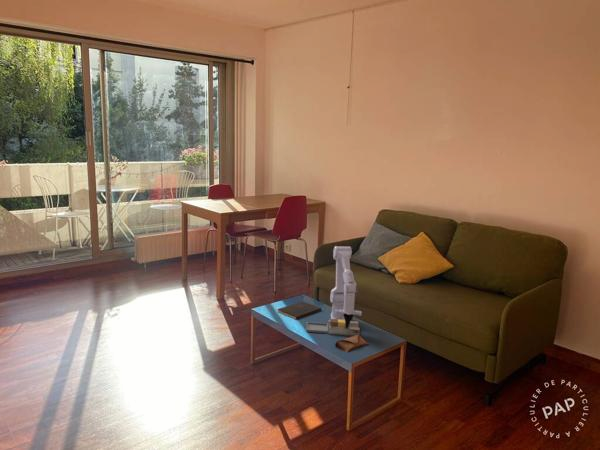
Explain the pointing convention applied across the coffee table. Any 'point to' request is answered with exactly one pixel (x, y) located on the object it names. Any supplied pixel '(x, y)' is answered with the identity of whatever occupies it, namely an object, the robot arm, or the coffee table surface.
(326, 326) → the tray
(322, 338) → the coffee table surface
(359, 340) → the sunglasses case
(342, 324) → the mustard cube
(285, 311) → the hardcover book
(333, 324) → the walnut cube
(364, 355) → the coffee table surface
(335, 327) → the channel
